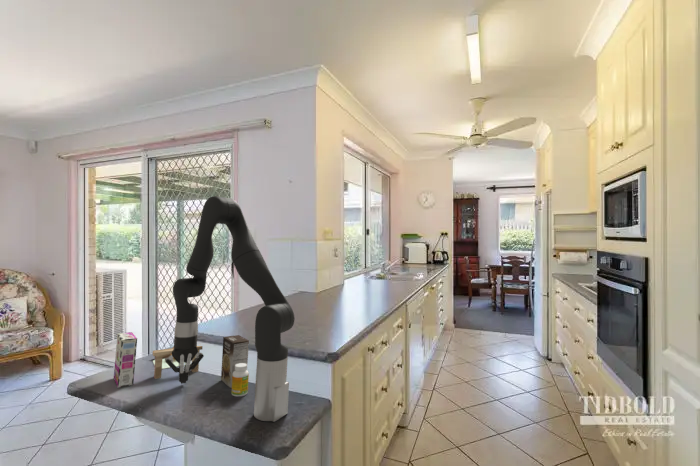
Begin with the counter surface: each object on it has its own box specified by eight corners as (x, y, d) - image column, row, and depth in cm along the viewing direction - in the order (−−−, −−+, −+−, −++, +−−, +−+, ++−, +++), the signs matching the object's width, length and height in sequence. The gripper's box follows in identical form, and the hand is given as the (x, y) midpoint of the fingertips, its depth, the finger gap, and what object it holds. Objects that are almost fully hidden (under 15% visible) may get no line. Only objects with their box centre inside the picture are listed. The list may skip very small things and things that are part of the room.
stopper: (180, 356, 149) (181, 350, 149) (155, 359, 143) (155, 354, 143) (179, 354, 151) (180, 349, 151) (154, 358, 145) (154, 352, 145)
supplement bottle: (242, 397, 112) (244, 368, 112) (228, 395, 113) (229, 366, 113) (250, 391, 117) (252, 363, 117) (236, 389, 118) (238, 361, 118)
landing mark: (189, 364, 139) (189, 364, 139) (156, 370, 132) (156, 369, 132) (183, 356, 149) (183, 356, 149) (152, 360, 142) (152, 360, 142)
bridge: (201, 371, 133) (202, 346, 134) (151, 379, 123) (153, 352, 123) (199, 368, 136) (200, 344, 136) (150, 376, 125) (152, 350, 126)
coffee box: (220, 380, 125) (222, 336, 126) (236, 376, 129) (239, 334, 130) (229, 388, 118) (232, 342, 119) (247, 384, 123) (249, 339, 123)
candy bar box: (134, 385, 118) (137, 338, 118) (117, 388, 114) (121, 340, 115) (129, 375, 126) (132, 331, 127) (113, 378, 123) (116, 333, 124)
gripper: (203, 329, 127) (200, 375, 126) (163, 333, 119) (160, 382, 118) (208, 333, 121) (205, 382, 120) (167, 338, 113) (163, 390, 112)
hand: (183, 382), depth 119 cm, fingers closed
